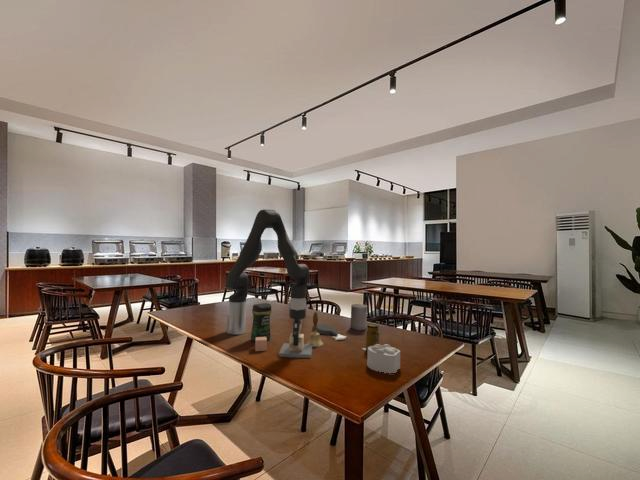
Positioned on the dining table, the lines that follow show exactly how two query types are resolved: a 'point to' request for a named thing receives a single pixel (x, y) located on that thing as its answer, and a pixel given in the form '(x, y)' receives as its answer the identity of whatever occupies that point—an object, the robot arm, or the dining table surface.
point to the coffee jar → (261, 321)
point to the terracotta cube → (260, 344)
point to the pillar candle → (358, 316)
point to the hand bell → (315, 333)
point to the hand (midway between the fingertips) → (296, 342)
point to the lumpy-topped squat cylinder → (383, 358)
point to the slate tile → (297, 354)
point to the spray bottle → (329, 331)
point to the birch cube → (300, 343)
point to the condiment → (371, 336)
